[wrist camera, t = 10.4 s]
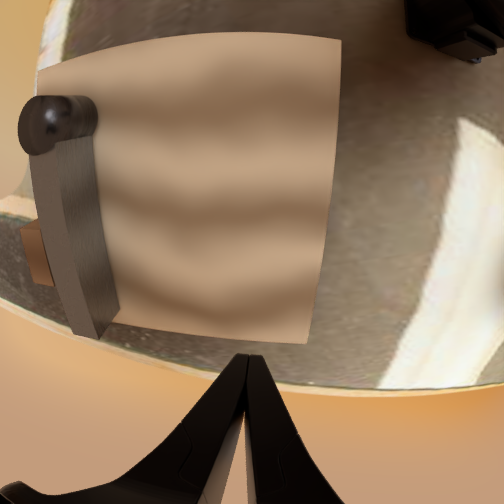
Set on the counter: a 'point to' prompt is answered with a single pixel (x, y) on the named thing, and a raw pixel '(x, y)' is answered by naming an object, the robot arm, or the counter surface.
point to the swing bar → (70, 207)
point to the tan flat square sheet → (213, 176)
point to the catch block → (36, 254)
